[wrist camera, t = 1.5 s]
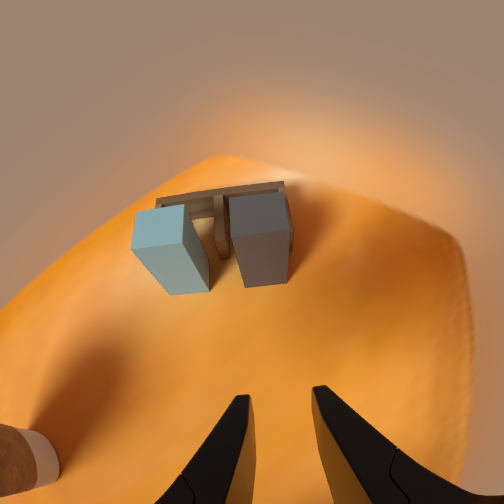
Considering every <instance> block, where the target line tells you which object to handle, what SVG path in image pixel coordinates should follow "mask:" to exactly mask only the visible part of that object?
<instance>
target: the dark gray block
mask: <svg viewBox="0 0 504 504" xmlns="http://www.w3.org/2000/svg"><path fill="white" fill-rule="evenodd" d="M229 209H230V227H231V238H232V242H233V246H234V249H235V253H236V257H237V260H238V264H239V268H240V271H241V275H242V279H243V282H244V286H245V288H249V287H258V286H267V285H275V284H284V283H287V276H288V259H289V240H290V227H289V222H288V217H287V211H286V206H285V201H284V196H283V192H274V193H265V194H256V195H248V196H240V197H232V198H229Z"/></svg>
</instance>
